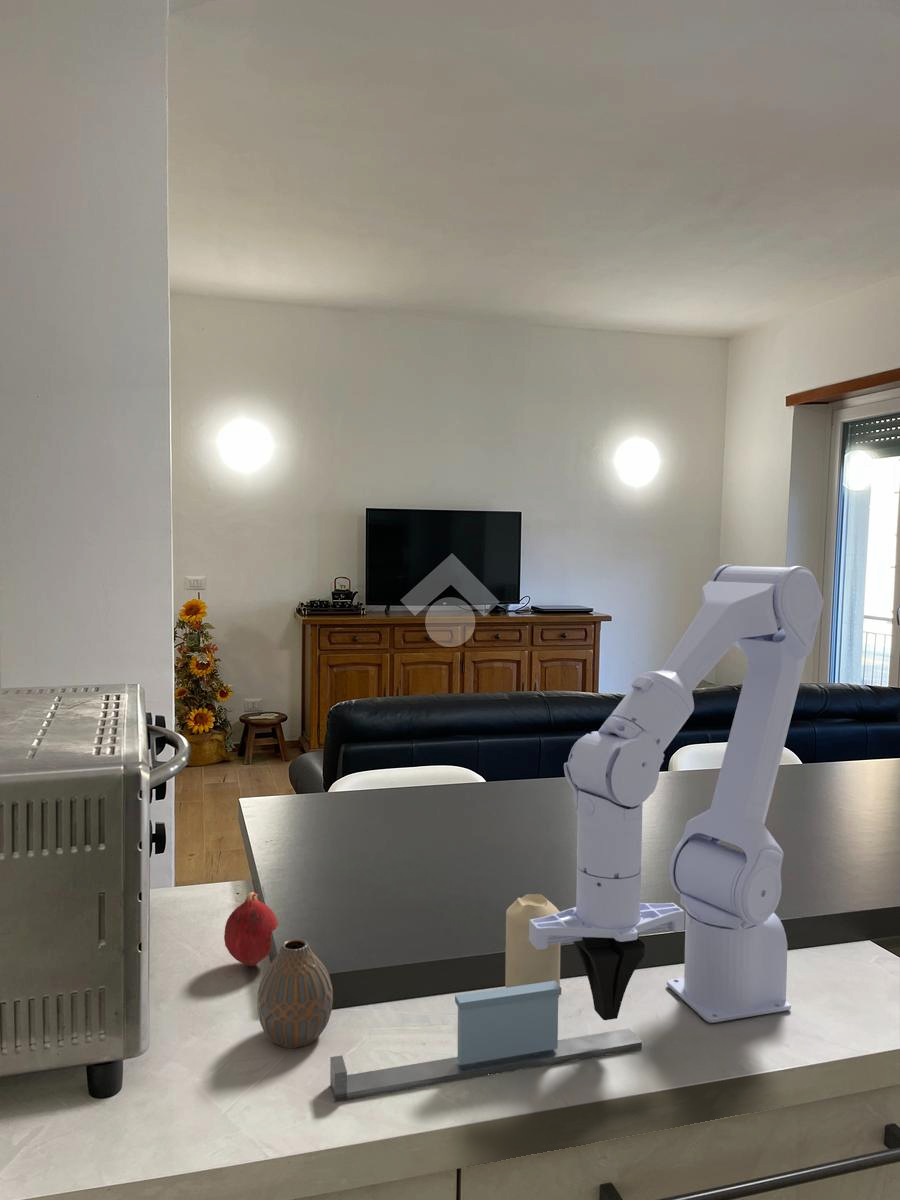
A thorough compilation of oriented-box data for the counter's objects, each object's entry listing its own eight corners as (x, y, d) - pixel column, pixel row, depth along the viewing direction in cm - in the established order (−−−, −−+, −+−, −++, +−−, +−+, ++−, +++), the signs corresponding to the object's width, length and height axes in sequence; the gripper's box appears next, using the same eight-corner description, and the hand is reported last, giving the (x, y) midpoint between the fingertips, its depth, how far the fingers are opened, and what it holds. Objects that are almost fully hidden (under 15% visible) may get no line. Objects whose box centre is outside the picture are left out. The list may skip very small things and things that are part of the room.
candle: (557, 1011, 86) (558, 912, 85) (501, 1005, 87) (502, 907, 86) (561, 984, 91) (563, 890, 90) (509, 979, 92) (510, 886, 91)
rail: (629, 1034, 82) (629, 1009, 81) (641, 1048, 79) (642, 1023, 79) (330, 1084, 74) (330, 1057, 74) (334, 1101, 71) (334, 1073, 71)
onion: (279, 976, 92) (279, 902, 92) (223, 981, 91) (222, 906, 91) (278, 951, 98) (278, 881, 98) (225, 956, 97) (224, 885, 96)
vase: (328, 1012, 85) (328, 924, 85) (336, 1052, 79) (336, 957, 78) (256, 1021, 84) (255, 931, 83) (258, 1062, 77) (257, 965, 76)
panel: (554, 1040, 79) (555, 980, 79) (560, 1049, 78) (561, 988, 77) (454, 1057, 76) (455, 995, 76) (459, 1066, 75) (459, 1003, 75)
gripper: (551, 892, 73) (549, 1050, 74) (704, 875, 77) (700, 1025, 78) (521, 862, 80) (519, 1007, 80) (663, 849, 84) (659, 987, 84)
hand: (605, 1014), depth 79 cm, fingers closed
